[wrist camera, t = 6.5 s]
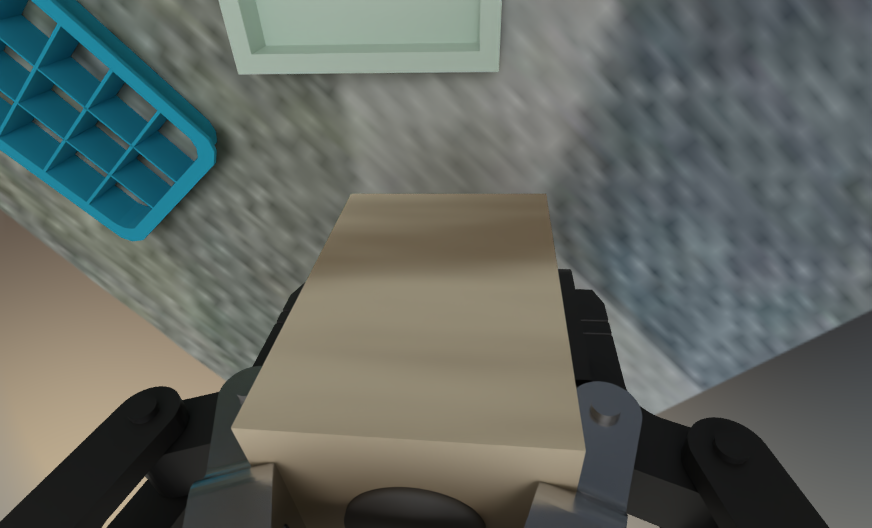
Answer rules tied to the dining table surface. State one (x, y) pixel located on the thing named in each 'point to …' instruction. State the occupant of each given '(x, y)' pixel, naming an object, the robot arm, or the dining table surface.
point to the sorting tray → (363, 36)
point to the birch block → (422, 369)
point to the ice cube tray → (95, 120)
